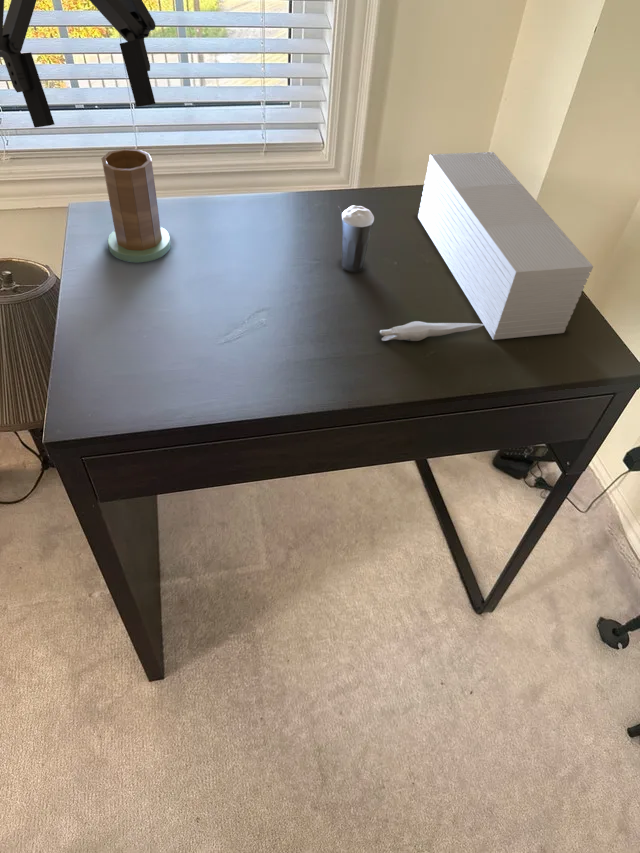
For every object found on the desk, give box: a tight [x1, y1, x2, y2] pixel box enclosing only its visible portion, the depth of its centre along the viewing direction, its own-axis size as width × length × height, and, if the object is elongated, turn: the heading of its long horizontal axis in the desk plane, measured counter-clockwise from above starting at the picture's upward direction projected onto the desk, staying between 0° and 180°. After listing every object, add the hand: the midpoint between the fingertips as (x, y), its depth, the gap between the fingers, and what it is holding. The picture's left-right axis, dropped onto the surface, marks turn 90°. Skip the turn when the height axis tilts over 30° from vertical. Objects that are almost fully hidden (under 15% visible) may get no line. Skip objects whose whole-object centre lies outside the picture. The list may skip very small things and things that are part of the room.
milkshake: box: [337, 204, 375, 273], centre depth 92 cm, size 4×5×10 cm
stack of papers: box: [417, 151, 594, 341], centre depth 94 cm, size 32×11×11 cm, turn 13°
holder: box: [107, 226, 172, 264], centre depth 93 cm, size 9×9×9 cm
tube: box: [100, 148, 162, 251], centre depth 91 cm, size 6×7×12 cm
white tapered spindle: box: [379, 320, 484, 342], centre depth 86 cm, size 15×3×2 cm, turn 103°
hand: (98, 115), depth 71 cm, fingers open, 13 cm apart
